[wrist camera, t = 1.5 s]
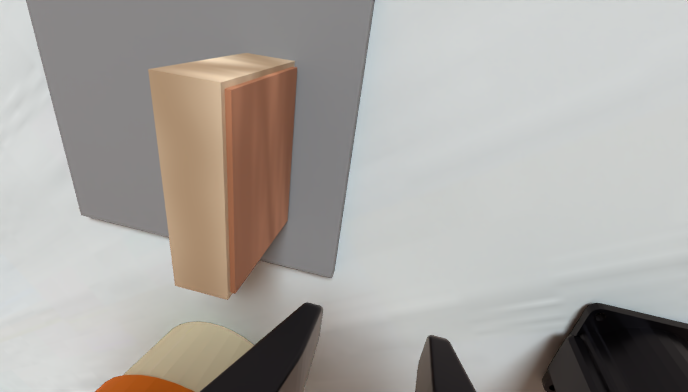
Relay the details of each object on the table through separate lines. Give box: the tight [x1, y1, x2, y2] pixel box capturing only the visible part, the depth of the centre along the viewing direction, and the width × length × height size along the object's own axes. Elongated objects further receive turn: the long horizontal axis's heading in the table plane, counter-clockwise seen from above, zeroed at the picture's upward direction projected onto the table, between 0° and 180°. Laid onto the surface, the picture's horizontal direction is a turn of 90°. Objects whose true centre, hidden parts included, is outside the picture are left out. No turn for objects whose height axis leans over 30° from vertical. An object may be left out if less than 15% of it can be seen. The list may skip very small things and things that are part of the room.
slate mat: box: [26, 0, 375, 278], centre depth 18 cm, size 16×14×1 cm
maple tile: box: [148, 53, 297, 300], centre depth 14 cm, size 2×8×6 cm, turn 172°
